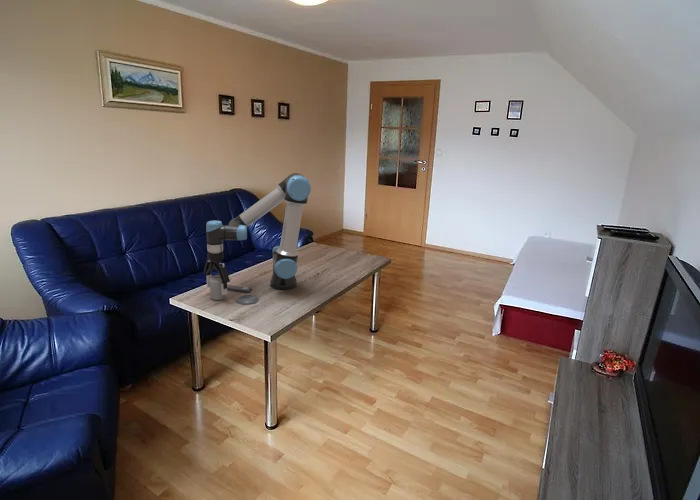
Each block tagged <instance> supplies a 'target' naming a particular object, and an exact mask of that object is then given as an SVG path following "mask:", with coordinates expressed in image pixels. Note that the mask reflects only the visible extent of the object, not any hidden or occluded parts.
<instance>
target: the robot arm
mask: <svg viewBox="0 0 700 500" xmlns="http://www.w3.org/2000/svg"><path fill="white" fill-rule="evenodd" d="M311 189H312V187H311V183H310V181H309V179H307V177H305V176H304V175H303V174H301V173H299V172H298V173H297V172H295V173H290V174H289V175H288V176H287V177H285V178H284V179H283V180H281V181H280V182H279V183H278V184H277V187H276V188H274V189H273V190H271V192H269V193H268V194H266V195H265V196H263V197H262V198H261V199H259V200H258V201H257V202H255V203H253V205H251V206H250V207H249V208H247V209H246V210H244V211H243V212H242V213H240V214H239V215H238V216H236V217H235V218H232V219H231V220H229V222H228V225H227V224H226V225H225V224H223V223H222V221H221V220H209V221H207V222H206V225H205V226H206V230H205V234H206V249H207V257H206V258H205V259H206V260H205V261H206V262H205V265H204V268H203V274H205V276H206V277H205V278H206V287H207V288H210V279H211V276H213V273H212V272H213V271H214V270H215V271H216V272H217V273H218V274H217V275H219V276H220V278H221V280H222V283H221V287H222V295H225V294H226V295H228V291H227V286H228V283H230V282H231V280H230V276H229V274H228V270H227V264H226V262H222V260H223V259H224V241H246V240H247V238H248V227H249V226H251V225H252V224H254V223H255V222H256V221H258V220H259V219H261V218H262V217H263V216H265V215H266V214H267V213H269V212H270V211H271V210H273V209H274V208H276V207H277V206H278V205H280V204H282V202H284V201H285V203H286V206H285V212H284V220H283V225H282V232H281V239H280V245H275V246H274V247H272V274H271V278H270V281H269V286H270V287H271V288H272V289H275V290H279V291H282V290H283V291H285V290H291V289H294V288H295V287H297V285H298V281H297V277H296V276H295V275H296V274H297V272H298V259H299V252H298V251H297V248H298V241H299V235H300V229H301V223H302V218H303V210H304V207H305V206H306V205H307V204H308V198H309V196H310V194H311V191H312V190H311Z"/></svg>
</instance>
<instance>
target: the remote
mask: <svg viewBox="0 0 700 500" xmlns="http://www.w3.org/2000/svg"><path fill="white" fill-rule="evenodd" d="M228 291H229V292H236V293H243V294H246V295H250V293H252V291H253V289H252V287H246V286H237V285H231V284H227V292H228Z"/></svg>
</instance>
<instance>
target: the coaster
mask: <svg viewBox="0 0 700 500" xmlns="http://www.w3.org/2000/svg"><path fill="white" fill-rule="evenodd" d="M258 302H259V296H256V295H253V294H245V295H240V296H238V297H237V298H236V303H237V304H240V305H243V306H244V305H245V306H246V305H253V304H256V303H258Z"/></svg>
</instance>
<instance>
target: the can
mask: <svg viewBox="0 0 700 500" xmlns="http://www.w3.org/2000/svg"><path fill="white" fill-rule="evenodd" d="M221 283H222V280H221V278H220V276H219V274H213V275H212V276H211V279H210V287H209V293H210V298H211V299H212V301H213V300H214V301H221V300H224V299H225V298H226V297H227V294H225V295H222V287H221Z"/></svg>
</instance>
